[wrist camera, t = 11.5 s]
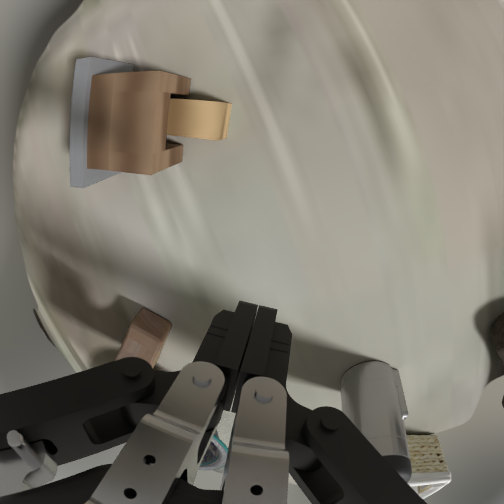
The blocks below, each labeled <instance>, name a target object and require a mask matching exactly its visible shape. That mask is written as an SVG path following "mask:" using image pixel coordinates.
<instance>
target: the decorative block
mask: <svg viewBox="0 0 504 504" xmlns="http://www.w3.org/2000/svg"><path fill="white" fill-rule="evenodd" d="M171 326H172V324H171V322H169V321H167V320H165V319H163V318H161V317H160V316H158V315H156V314H154V313H152V312H151V311H149V310H147V309H145V308H142V309H141V310H140V311H139V313H138V314H137V315H136V317H135V318H134V319H133V321H132V322H131V323H130V325H129V328H128V331H127V334H126V336H125V338H124V341H123V343H122V345H121V347H120V349H119V351H118V353H117V355H116V357H115V359H114V361H116V360H119V359H122V358H126V357H138V358H141V359H144V360H146V361H147V362H148V363H150V365H151V366H152V368H153V367H154V366H155V364H156V362H157V360H158V358H159V355H160V353H161V350H162V348H163V346H164V343H165V341H166V338H167V336H168V334H169V331H170V329H171Z"/></svg>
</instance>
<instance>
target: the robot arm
mask: <svg viewBox="0 0 504 504" xmlns="http://www.w3.org/2000/svg"><path fill="white" fill-rule="evenodd" d="M257 307H258V305H256V304H252V303H247V302H243V301H239V303H238V306H237V308H236V311H235V313H234V312H230V311H226V310H223V311H221V312H220V313H218V314H217V315H216V316H214V319H213V321H212V323H211V325H210V327H209V329H208V331H207V334H206V335H205V337H204V339H203V342H202V344H201V346H200V348H199V350H198V352H197V354H196V356H195V358H194V360H193V362H192V363H189V364H187V365H186V366H185V367H183V369H182V370H180V371H176V372H162V371H154V370H153V368H152V366H151V365H150V363H148V362H147V361H146V360H144V359H141V358H138V357H126V358H122V359H119V360H116V361H113V362H110V363H107V364H104V365H101V366H98V367H95V368H91V369H88V370H85V371H82V372H79V373H75V374H72V375H69V376H65V377H62V378H59V379H56V380H52V381H48V382H45V383H41V384H38V385H34V386H31V387H27V388H23V389H19V390H15V391H12V392H8V393H4V394H0V504H287V494H288V493H287V492H288V477H289V473H290V475H291V476H292V477H293V479H294V480H295V482H296V483H297V484H298V486H299V487H300V488H301V489H302V491H303V492H304V494H305V495H306V496H307V498H308V499H309V500H310V502H311V503H312V504H427V503H426V502H425V501H424V500H423V499H422V498H421V497H420V496H419V495H418V494H417V493H416V492H415V491H414V490H413V489H412V488H411V487H410V486H409V484H408V481H409V480H410V478H411V475H412V468H411V461H410V455H409V448H408V442H407V436H406V430H405V424H404V420H405V419H406V418H407V417H408V410H407V405H406V401H405V396H404V392H403V388H402V383H401V379H400V375H399V371H398V370H394V369H392V368H391V367H390V366H389V365H388V364H386V363H383V362H378V361H370V362H364V363H361V364H358V365H356V366H354V367H352V368H350V369H349V370H348V371H347V372H346V373H345V374H344V375H343V377H342V379H341V399H342V411H340V410H338V409H336V408H333V407H327V406H326V407H319V408H316V409H314V410H313V411H312V410H310V409H308V408H306V407H304V406H302V405H300V404H298V403H297V402H295V401H294V400H293V399H292V398H291V397H290V396H289V394H288V392H287V389H286V379H287V371H288V363H289V355H290V347H291V339H292V333H291V331H290V329H289V327H288V325H286V324H281V323H277V322H275V319H276V314H277V309H273V308H269V307H265V306H260V305H259V308H258V312H257ZM256 312H257V315H256ZM255 317H256V319H255ZM254 321H255V322H254ZM235 391H236V393H235ZM234 395H235V397H234ZM233 398H234V402H233V407H232V411H231V412H234V413H236V415H235V419H234V423H233V428H232V432H231V437H230V442H229V448H228V453H227V458H226V463H225V469H224V474H223V479H222V483H221V487H220V490H203V489H199V488H197V487H195V486H193V484H194V481H195V479H196V476H197V472H198V469H199V467H200V464H201V462H202V460H203V458H204V455H205V453H206V451H207V449H208V446H209V444H210V442H211V440H212V437H213V435H214V433H215V431H216V428H217V425H218V423H219V421H220V419H221V416H222V412H223V410H226V411H230V408H231V405H232V401H233ZM125 442H126V444H125V446H124V447H123V448H122V450H121V451H120V453H119V455H118V456H117V458H116V459H115V461H114V462H113V464H106V465H101V466H97V467H95V468H92V469H89V470H86V471H84V472H81V473H78V474H76V475H73V476H70V477H67V478H64V479H61V480H58V481H55V482H52V483H49V484H46V485H43V484H45V483H47V482H49V481H52V480H53V479H54V477H55V475H56V473H57V466H58V465H62V464H65V463H68V462H71V461H75V460H78V459H81V458H84V457H87V456H90V455H93V454H96V453H99V452H101V451H104V450H107V449H110V448H112V447H115V446H117V445H120V444H123V443H125Z"/></svg>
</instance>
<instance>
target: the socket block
mask: <svg viewBox="0 0 504 504" xmlns="http://www.w3.org/2000/svg"><path fill="white" fill-rule="evenodd" d="M190 82H191V79H190V78H186V77H183V76H179V75H175V74H171V73H167V72H163V71H139V72H123V73H111V74H101V75H92V79H91V89H90V100H89V113H88V132H87V169H98V170H108V171H118V172H127V173H136V174H145V175H152V174H155V173H157V172H159V171H161V170H164V169H166V168H168V167H170V166H173V165H175V164H177V163H180V162H182V155H183V145H177V144H166V135H167V124H168V114H169V105H170V96H171V95H189V90H190Z"/></svg>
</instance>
